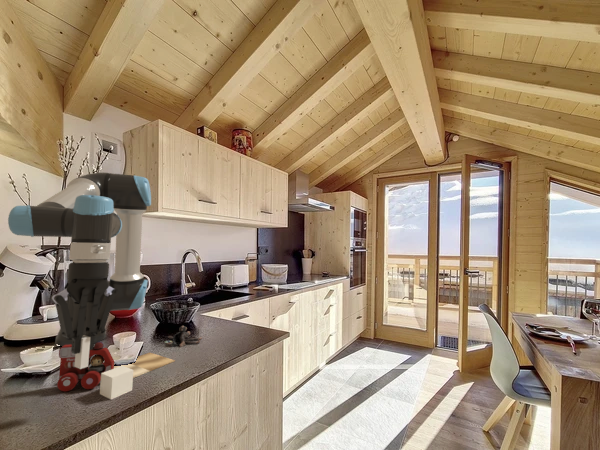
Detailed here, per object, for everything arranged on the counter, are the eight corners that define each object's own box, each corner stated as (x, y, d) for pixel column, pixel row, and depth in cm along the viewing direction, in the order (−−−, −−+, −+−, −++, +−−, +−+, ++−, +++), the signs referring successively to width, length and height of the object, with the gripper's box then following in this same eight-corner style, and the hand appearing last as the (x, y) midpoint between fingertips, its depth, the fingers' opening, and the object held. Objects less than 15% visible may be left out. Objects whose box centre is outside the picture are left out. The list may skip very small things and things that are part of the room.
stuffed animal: (196, 344, 100) (170, 325, 100) (180, 367, 99) (154, 347, 99) (207, 334, 111) (183, 316, 112) (192, 354, 111) (169, 336, 111)
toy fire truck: (106, 388, 70) (108, 346, 71) (48, 393, 67) (51, 350, 68) (117, 375, 77) (119, 337, 77) (66, 380, 74) (68, 340, 75)
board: (93, 372, 79) (93, 371, 79) (149, 353, 93) (149, 352, 93) (118, 384, 72) (118, 383, 72) (175, 361, 87) (175, 360, 87)
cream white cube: (99, 394, 68) (101, 373, 68) (120, 385, 72) (122, 365, 72) (111, 399, 65) (112, 377, 66) (132, 390, 70) (133, 369, 70)
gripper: (63, 262, 57) (52, 382, 54) (127, 261, 68) (120, 359, 66) (47, 261, 60) (36, 374, 58) (111, 260, 72) (103, 354, 69)
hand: (81, 366), depth 62 cm, fingers closed
